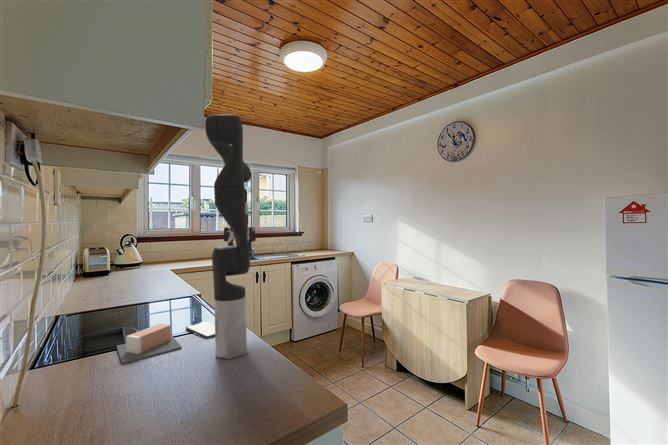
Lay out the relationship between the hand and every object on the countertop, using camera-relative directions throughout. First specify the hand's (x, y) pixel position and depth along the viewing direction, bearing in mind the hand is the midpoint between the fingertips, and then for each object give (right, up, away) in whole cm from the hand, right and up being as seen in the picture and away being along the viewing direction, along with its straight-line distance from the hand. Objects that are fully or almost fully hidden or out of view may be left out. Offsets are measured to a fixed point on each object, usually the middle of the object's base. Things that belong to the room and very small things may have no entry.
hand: (239, 251), depth 129 cm
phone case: (-8, -29, -14) cm, 33 cm away
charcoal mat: (-21, -29, -28) cm, 46 cm away
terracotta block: (-19, -26, -22) cm, 39 cm away
